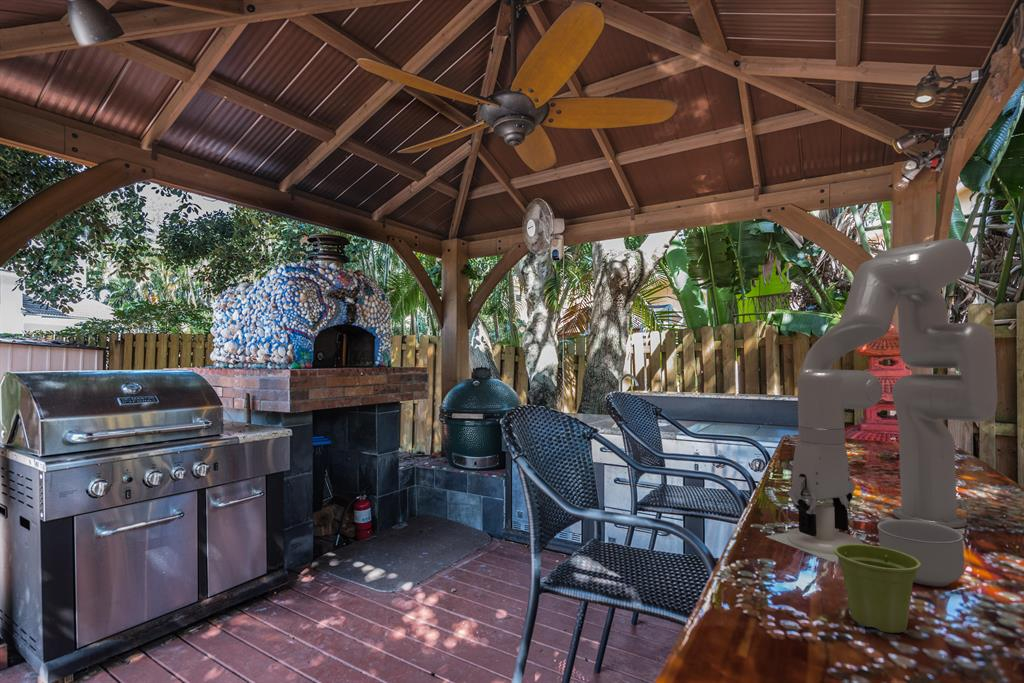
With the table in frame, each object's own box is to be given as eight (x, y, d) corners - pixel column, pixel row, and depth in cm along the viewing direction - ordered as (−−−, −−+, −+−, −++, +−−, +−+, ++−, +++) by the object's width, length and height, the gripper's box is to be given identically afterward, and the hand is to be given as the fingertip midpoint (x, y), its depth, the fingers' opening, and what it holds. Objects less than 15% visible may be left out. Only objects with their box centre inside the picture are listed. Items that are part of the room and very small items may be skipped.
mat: (816, 529, 106) (816, 527, 106) (887, 553, 93) (887, 550, 93) (765, 538, 101) (765, 536, 101) (832, 564, 88) (832, 561, 88)
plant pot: (819, 606, 73) (818, 544, 73) (882, 604, 74) (880, 542, 74) (871, 642, 63) (869, 570, 64) (942, 639, 64) (940, 568, 65)
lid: (817, 529, 105) (816, 494, 105) (878, 549, 94) (877, 510, 94) (773, 537, 101) (772, 500, 101) (831, 559, 89) (830, 518, 90)
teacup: (983, 597, 76) (981, 541, 76) (899, 591, 78) (897, 536, 78) (927, 561, 89) (926, 514, 90) (857, 557, 91) (856, 511, 92)
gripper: (834, 432, 105) (837, 520, 104) (770, 436, 98) (772, 530, 98) (872, 437, 98) (875, 531, 97) (805, 442, 91) (808, 543, 91)
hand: (823, 530), depth 97 cm, fingers open, 7 cm apart
